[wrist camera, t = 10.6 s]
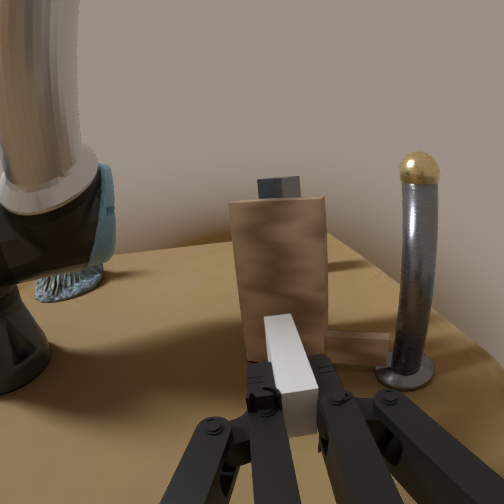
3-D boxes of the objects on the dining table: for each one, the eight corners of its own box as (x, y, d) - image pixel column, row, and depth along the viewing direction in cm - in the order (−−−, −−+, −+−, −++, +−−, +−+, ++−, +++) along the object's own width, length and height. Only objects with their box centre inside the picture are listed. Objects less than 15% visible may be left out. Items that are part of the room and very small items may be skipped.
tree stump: (18, 307, 50) (7, 224, 50) (63, 295, 70) (54, 229, 70) (82, 299, 50) (69, 205, 50) (120, 287, 70) (110, 215, 70)
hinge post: (362, 375, 26) (366, 150, 21) (395, 348, 29) (402, 152, 24) (414, 399, 21) (439, 148, 16) (442, 366, 24) (462, 153, 19)
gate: (385, 362, 27) (395, 195, 23) (384, 374, 25) (397, 198, 21) (254, 350, 32) (237, 200, 28) (246, 360, 30) (228, 203, 26)
